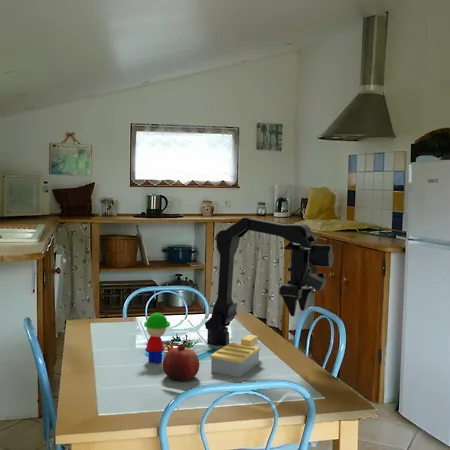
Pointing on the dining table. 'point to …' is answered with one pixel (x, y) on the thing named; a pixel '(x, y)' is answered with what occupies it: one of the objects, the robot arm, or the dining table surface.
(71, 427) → the dining table surface
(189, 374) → the fruit
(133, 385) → the dining table surface
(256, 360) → the tub
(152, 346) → the toy
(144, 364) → the dining table surface
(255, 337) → the lid
